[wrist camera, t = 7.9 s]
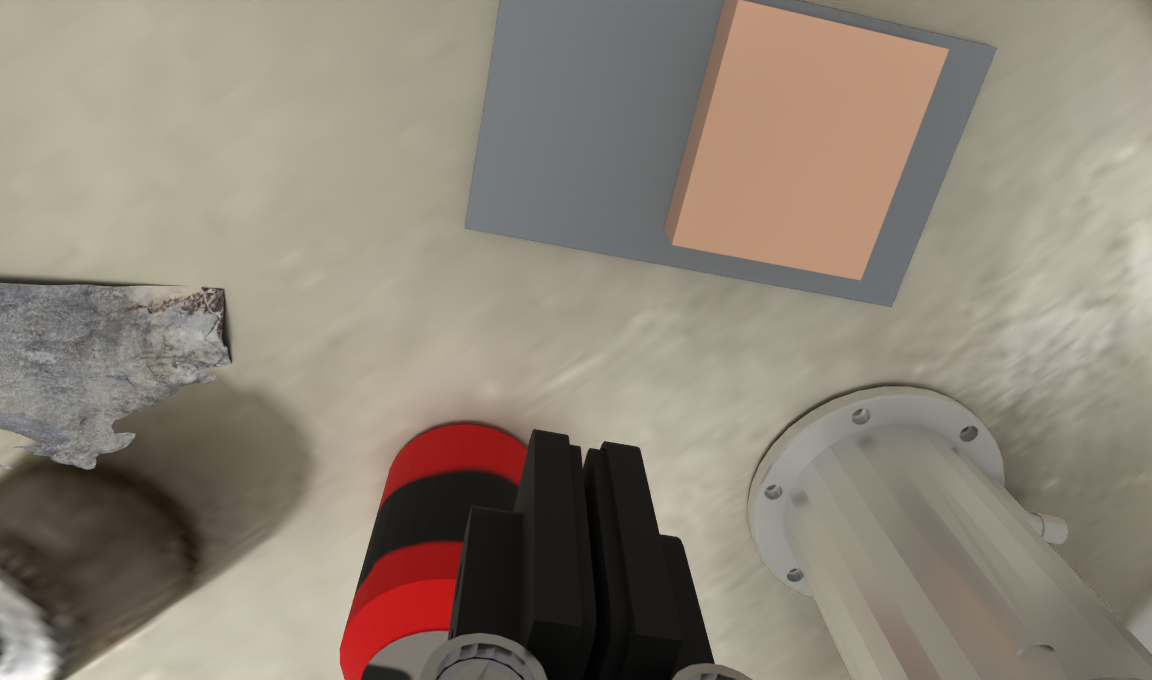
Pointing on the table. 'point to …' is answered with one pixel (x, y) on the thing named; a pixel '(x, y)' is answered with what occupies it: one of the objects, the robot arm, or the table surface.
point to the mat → (663, 134)
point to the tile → (799, 139)
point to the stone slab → (98, 360)
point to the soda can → (423, 547)
